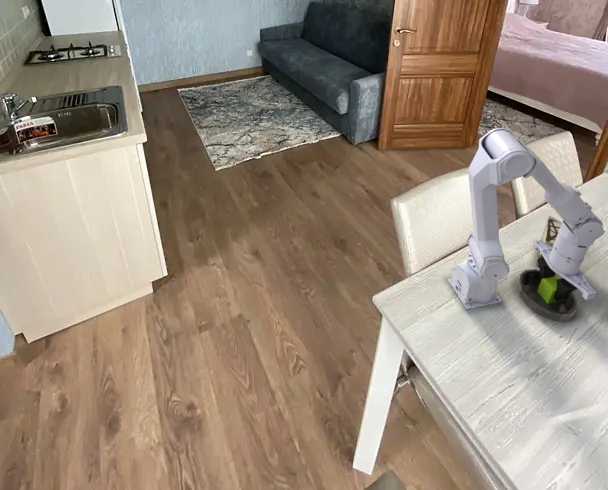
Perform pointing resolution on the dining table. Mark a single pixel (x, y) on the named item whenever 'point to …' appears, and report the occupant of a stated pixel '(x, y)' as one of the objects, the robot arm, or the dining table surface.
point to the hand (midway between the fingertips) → (551, 291)
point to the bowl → (534, 301)
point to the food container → (550, 233)
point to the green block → (548, 289)
